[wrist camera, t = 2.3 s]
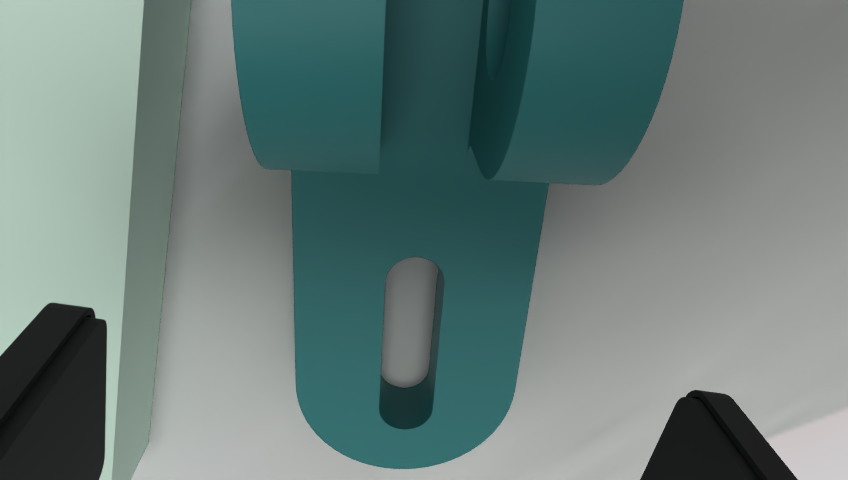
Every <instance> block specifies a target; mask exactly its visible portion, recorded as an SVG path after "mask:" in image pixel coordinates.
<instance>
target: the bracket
mask: <svg viewBox="0 0 848 480" xmlns="http://www.w3.org/2000/svg"><path fill="white" fill-rule="evenodd" d="M683 1H684V0H231V7H232V24H233V37H234V50H235V59H236V69H237V77H238V85H239V92H240V98H241V104H242V110H243V115H244V120H245V125H246V129H247V133H248V137H249V141H250V144H251V147H252V150H253V152H254V155H255V157H256V159H257V161H258V162H259V164H260V165H261V166H262V167H263V168H266V169H280V170H291V179H292V226H293V274H294V322H295V369H296V392H297V398H298V402H299V405H300V408H301V411H302V413H303V415H304V417H305V419H306V421H307V422H308V424H309V425H310V426H311V428H312V429H313V430H314V432H315V433H316V434H317V435H318V436H319V437H320V438H321V439H322V440H323V441H324V442H325V443H327V444H328V445H329V446H331V447H332V448H333V449H335V450H336V451H338V452H340V453H341V454H343V455H345V456H347V457H349V458H352V459H354V460H357V461H359V462H362V463H365V464H369V465H373V466H378V467H383V468H393V469H413V468H422V467H429V466H433V465H437V464H441V463H444V462H447V461H450V460H452V459H455V458H457V457H460V456H462V455H463V454H465V453H467V452H469V451H471V450H472V449H474V448H475V447H477V446H478V445H480V444H481V443H482V442H483V441H485V440H486V439H487V438H488V437H489V436H490V435H491V434H492V433H493V432H494V431H495V430H496V428H497V427H498V426H499V425H500V423H501V422H502V420H503V419H504V417H505V416H506V414H507V412H508V410H509V408H510V405H511V403H512V400H513V396H514V392H515V386H516V380H517V374H518V368H519V362H520V356H521V350H522V344H523V338H524V332H525V326H526V320H527V314H528V308H529V301H530V295H531V289H532V283H533V277H534V271H535V265H536V259H537V253H538V247H539V241H540V235H541V229H542V222H543V216H544V210H545V204H546V198H547V192H548V186H549V183H562V184H582V185H601V184H603V183H606V182H608V181H609V180H611V179H613V178H614V177H615V176H616V175H617V174H618V173H619V172H620V171H621V170H622V169H623V168H624V166H625V165H626V164H627V163H628V161H629V160H630V158H631V157H632V155H633V154H634V152H635V151H636V149H637V147H638V145H639V144H640V142H641V140H642V138H643V136H644V134H645V132H646V130H647V128H648V125H649V123H650V121H651V119H652V116H653V114H654V111H655V109H656V106H657V104H658V101H659V98H660V95H661V92H662V89H663V86H664V83H665V80H666V77H667V73H668V70H669V66H670V62H671V59H672V55H673V51H674V47H675V42H676V38H677V34H678V29H679V23H680V18H681V13H682V7H683ZM410 257H421V258H426V259H428V260H430V261H432V262H434V263H435V264H436V265H437V266H438V275H437V286H436V297H435V308H434V319H433V330H432V341H431V353H430V364H429V372H428V375H427V376H426V378H425V379H424V380H423V381H422V382H421V383H420V384H418V385H416V386H413V387H410V388H398V387H394V386H392V385H390V384H388V383H387V382H386V381H385V380H384V379H383V377H382V376H381V357H382V337H383V317H384V297H385V280H386V276H387V274H388V272H389V270H390V269H391V268H392V266H393V265H395V264H396V263H397V262H399V261H401V260H403V259H406V258H410Z"/></svg>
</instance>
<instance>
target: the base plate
mask: <svg viewBox="0 0 848 480" xmlns="http://www.w3.org/2000/svg"><path fill="white" fill-rule="evenodd" d="M190 10H191V0H0V356H1V355H2V354H3V352H4V351H5V350H6V349H7V348H8V347H9V346H10V345H11V344H12V342H13V341H14V340H15V339H16V338H17V337H18V336H19V335H20V334H21V332H22V331H23V330H24V329H25V328H26V327H27V326H28V325H29V324H30V322H31V321H32V320H33V319H34V318H35V317H36V316H37V315H38V314H39V312H40V311H41V310H42V309H43V308H44V307H45V306H46V305H47V304H49V303H60V304H68V305H75V306H82V307H90V308H92V309H93V310H94V312H95V318H97V319H104V320H105V321H106V323H107V364H106V422H105V460H104V465H103V469H102V473H101V476H100V478H99V480H131V478H132V476H133V474H134V472H135V470H136V468H137V465H138V463H139V461H140V459H141V457H142V455H143V453H144V451H145V449H146V447H147V445H148V442H149V434H150V423H151V413H152V403H153V392H154V382H155V371H156V361H157V351H158V340H159V330H160V320H161V309H162V299H163V289H164V278H165V268H166V258H167V247H168V237H169V227H170V216H171V206H172V196H173V185H174V175H175V165H176V154H177V144H178V134H179V123H180V113H181V103H182V92H183V82H184V72H185V61H186V51H187V41H188V30H189V20H190Z"/></svg>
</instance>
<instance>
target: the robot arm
mask: <svg viewBox="0 0 848 480" xmlns="http://www.w3.org/2000/svg"><path fill="white" fill-rule="evenodd" d="M106 364H107V323H106V321H105V320H104V319H97V318H95V312H94V310H93V309H92V308H90V307H82V306H75V305H68V304H60V303H49V304H47V305H46V306H45V307H44V308H43V309H42V310H41V311H40V312H39V314H38V315H37V316H36V317H35V318H34V319H33V320H32V321H31V322H30V324H29V325H28V326H27V327H26V328H25V329H24V330H23V331H22V332H21V334H20V335H19V336H18V337H17V338H16V339H15V340H14V341H13V342H12V344H11V345H10V346H9V347H8V348H7V349H6V350H5V351H4V352H3V354H2V355H1V356H0V480H99V478H100V476H101V473H102V469H103V465H104V460H105V422H106ZM640 480H797V478H796V477H795V476H794V475H793V473H792V472H791V471H790V470H789V468H788V467H787V466H786V465H785V463H784V462H783V461H782V460H781V458H780V457H779V456H778V455H777V453H776V452H775V451H774V450H773V448H772V447H771V446H770V445H769V443H768V442H767V441H766V440H765V438H764V437H763V436H762V435H761V433H760V432H759V431H758V430H757V429H756V427H755V426H754V425H753V424H752V422H751V421H750V420H749V419H748V417H747V416H746V415H745V414H744V412H743V411H742V410H741V409H740V407H739V406H738V405H737V404H736V402H735V401H734V400H733V399H732V398H731V397H730V396H729V395H726V394H721V393H714V392H706V391H699V390H694V391H691V392H690V393H688V394H687V396H686V397H683V398H680V399H679V400H678V402H677V403H676V405H675V407H674V409H673V411H672V413H671V416H670V418H669V420H668V422H667V424H666V426H665V428H664V430H663V433H662V435H661V437H660V439H659V441H658V443H657V445H656V447H655V450H654V452H653V454H652V456H651V458H650V460H649V462H648V465H647V467H646V469H645V471H644V473H643V475H642V477H641V479H640Z"/></svg>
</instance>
